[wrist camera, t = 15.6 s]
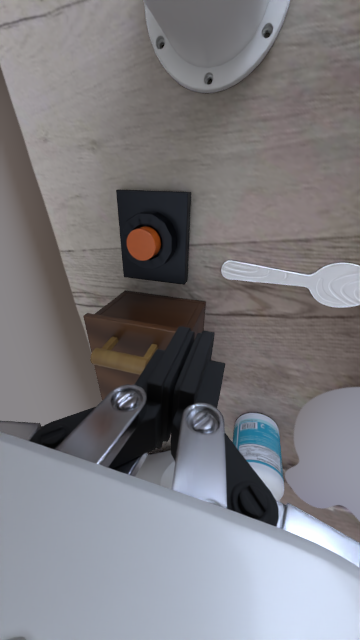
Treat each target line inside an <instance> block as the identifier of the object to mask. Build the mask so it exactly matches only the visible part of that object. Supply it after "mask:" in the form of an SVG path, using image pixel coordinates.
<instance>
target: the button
mask: <svg viewBox="0 0 360 640" xmlns="http://www.w3.org/2000/svg"><path fill="white" fill-rule="evenodd" d="M127 248H128V251H129V252H130V254H131V255H132V256H133V257H134V258H136V259H137V260H141V261H145V260H148V259H150V258H152V257H153V256H155V255H156V254H157V253H158V252H159V250H160V248H161V239H160V236H159V234H158V233H157V232H156V231H155V230H154V229H153V228H151V227H141V228H138V229H135V230H133V231H131V232H130V234H129V235H128V237H127Z"/></svg>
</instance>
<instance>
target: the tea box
mask: <svg viewBox="0 0 360 640" xmlns="http://www.w3.org/2000/svg"><path fill="white" fill-rule="evenodd" d="M205 306H206V302H204V301H197V300H189V299H182V298H175V297H168V296H161V295H153V294H146V293H139V292H132V291H124V292H123V293H121V294H120V295H119V296H117V297H116V298H115V299H114V300H112V301H111V302H110V303H108V304H107V305H106V306H104V307H103V308H102V309H100V310H99V311H98V312H97V313H95V314H96V315H102V316H108V317H114V318H120V319H126V320H132V321H138V322H144V323H150V324H156V325H162V326H167V327H173V328H178V327H179V326H182V327H188V328H191V331H192V332H195V336H194V340H195V338H196V335H197V333H202V331H203V330H204V318H205Z"/></svg>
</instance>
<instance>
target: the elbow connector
mask: <svg viewBox="0 0 360 640" xmlns="http://www.w3.org/2000/svg"><path fill="white" fill-rule="evenodd" d="M174 467H175V461H174V459H173V457H172V455H171V450H170V451H165V452H161V453H156V454H151V455H147V457H146V459H145V461H144V463H143V464H142V466H141V468H140V469H139V471H138V473H137V474H136V476H135V477H136V478H139V479H142V480H145V481H148V482H151V483H154V484H157V485H160V486H163V487H166V488H168V489H171V487H172V481H173V474H174Z"/></svg>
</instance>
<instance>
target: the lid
mask: <svg viewBox="0 0 360 640" xmlns="http://www.w3.org/2000/svg"><path fill="white" fill-rule="evenodd" d="M84 321H85V325H86V330H87V334H88V339H89V343H90V348H91V352H92V354H91V363H92V364H94V366H95V370H96V374H97V379H98V384H99V388H100V393H101V397H102V400H103V399H104V398H105V397H106V396H107V395H108V394H109V393H110V392H111V391H112V390H114V389H115V388H117V387H119V386H121V385H126V384H133V385H134V384H135V383H136V381H137V380H138V378H139V376H140V375H141V373H142V372H143V370H144V369H145V367H146V365H147V364H148V362H149V361H150V359H151V357H152V356H153V354H154V353H155V351H156V350H157V349H161V350H166V348H167V346H168V344H169V343H170V341H171V339H172V338H173V336H174V334H175V332H176V331H177V329H178V328H173V327H167V326H162V325H156V324H150V323H144V322H138V321H132V320H126V319H120V318H114V317H108V316H102V315H96V314H90V313H87V314H85V315H84Z"/></svg>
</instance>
